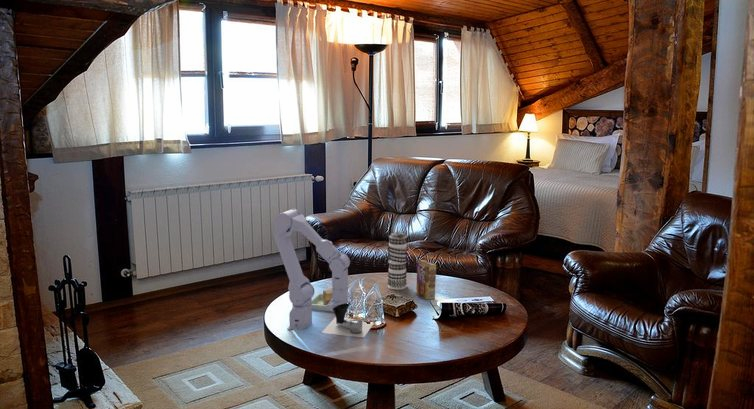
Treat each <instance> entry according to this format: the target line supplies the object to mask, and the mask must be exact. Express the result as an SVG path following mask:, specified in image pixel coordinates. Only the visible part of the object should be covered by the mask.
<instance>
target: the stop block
mask: <svg viewBox="0 0 754 409" xmlns="http://www.w3.org/2000/svg"><path fill="white" fill-rule="evenodd" d="M322 294H323V305H327V304H328V303H329V302H330V301H331V300H332V288H330V289H322Z"/></svg>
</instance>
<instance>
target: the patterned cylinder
mask: <svg viewBox="0 0 754 409" xmlns="http://www.w3.org/2000/svg"><path fill="white" fill-rule="evenodd" d="M388 238H389V239H388V241H389V242H388V245H387V259H388V261H387V262H388V271H387V274H388V275H387V277H388V278H387V288H388V289H390V290H391V289H392V290H398V291H400V290H405V289H406V288H407V284H408V283H407V281H408V279H407V274H408V273H407V268H406V263H408V260H407V259H408V257H407V255H408V254H409V253H408V252H407V251H408V248H407V235H406V234H405V233H404V232H400V231H394V232H392V233H391V234H390V235H388Z"/></svg>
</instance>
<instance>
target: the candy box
mask: <svg viewBox="0 0 754 409" xmlns="http://www.w3.org/2000/svg"><path fill="white" fill-rule="evenodd" d="M416 263H417V264H416V293H415V294H416V295H417V296H419V297H420V298H423V299H425V300H428V301H429V300H430V301H431V300H434V299H436V283H437V282H436V281H437V278H436V277H437V276H436V275H437V264H436V263H433V262H431V261H428V260H426V259H421V260H417V261H416Z"/></svg>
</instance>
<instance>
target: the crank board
mask: <svg viewBox="0 0 754 409" xmlns="http://www.w3.org/2000/svg"><path fill="white" fill-rule="evenodd" d="M350 319H351V320H354V319H355V318H354V319H353V318H350ZM361 320H362V333H360V334H353V333H351V332H350V330H349V329H347V328H345V327H342V326H340V325H337V324H336V316H335V317H334V318H333V319H332V320H331V322H330V323H328V325H327V326H326V327H325V328H324V329H323V330H322V331H321V334H327V335H329V334H330V335H337V336H338V335H339V336H346V337H356V338H362V339H363V338H365V337H366V336H367V334H368V332H369V331H370V330H371V328H372V327H373V326H374V324H367V323H365V322H364V319H361Z"/></svg>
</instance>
